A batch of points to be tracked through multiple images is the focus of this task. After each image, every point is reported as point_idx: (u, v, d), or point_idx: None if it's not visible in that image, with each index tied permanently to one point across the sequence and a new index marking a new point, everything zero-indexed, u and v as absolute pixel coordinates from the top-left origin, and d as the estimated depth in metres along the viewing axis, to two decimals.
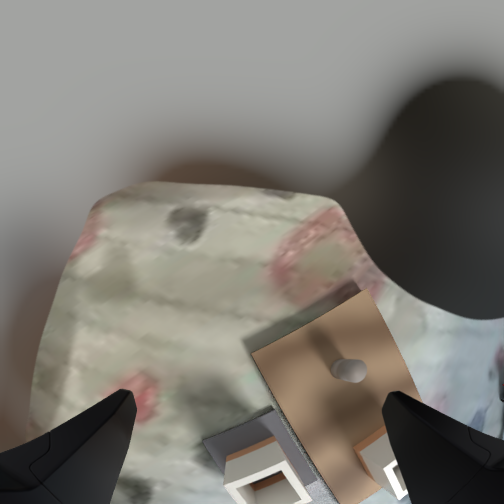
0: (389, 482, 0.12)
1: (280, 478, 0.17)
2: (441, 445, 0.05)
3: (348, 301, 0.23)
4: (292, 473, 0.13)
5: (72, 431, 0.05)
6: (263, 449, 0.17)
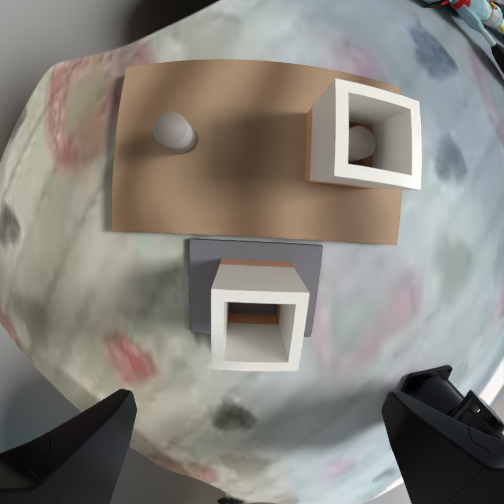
0: (373, 181, 0.11)
1: None
2: (441, 445, 0.05)
3: (122, 95, 0.15)
4: (239, 292, 0.13)
5: (72, 431, 0.05)
6: None
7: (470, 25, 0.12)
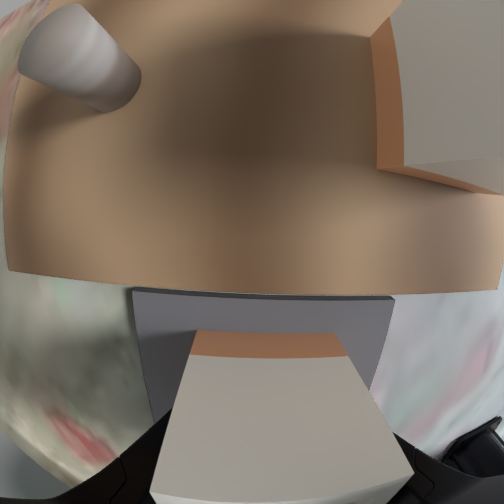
0: None
1: None
2: None
3: None
4: (231, 503, 0.03)
5: (146, 453, 0.05)
6: None
7: None
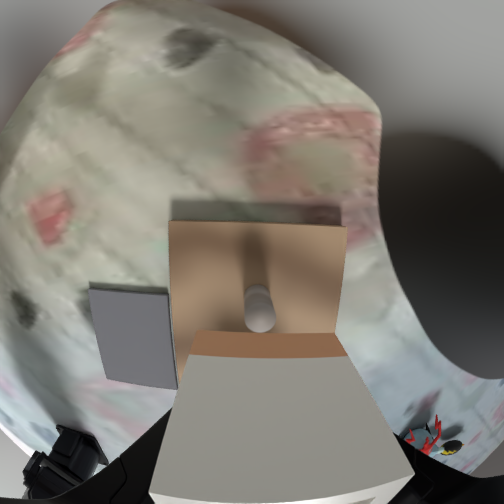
0: None
1: None
2: None
3: (315, 227, 0.18)
4: None
5: (146, 453, 0.05)
6: None
7: None
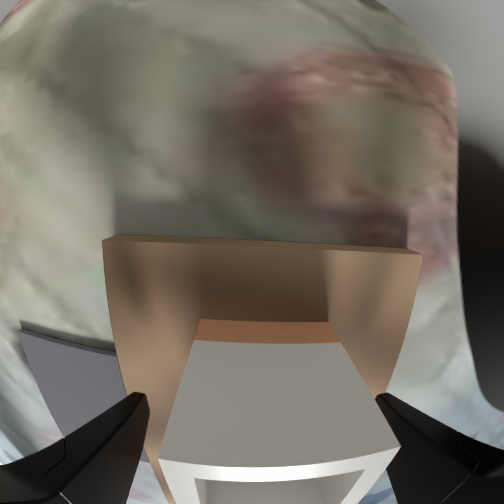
0: None
1: None
2: (429, 450, 0.05)
3: (373, 256, 0.09)
4: (232, 468, 0.04)
5: (87, 437, 0.05)
6: None
7: None
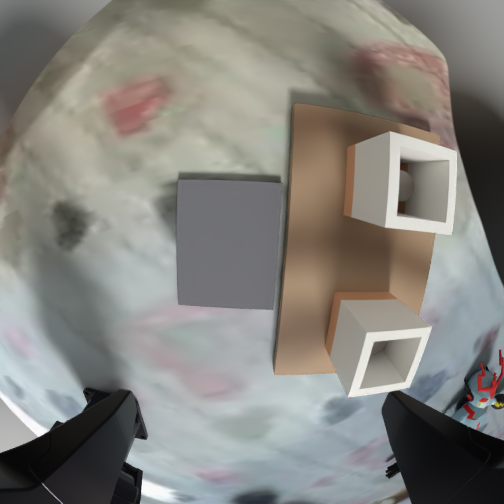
0: (357, 361, 0.13)
1: None
2: (441, 445, 0.05)
3: (418, 130, 0.16)
4: (411, 138, 0.11)
5: (72, 431, 0.05)
6: (358, 162, 0.15)
7: None
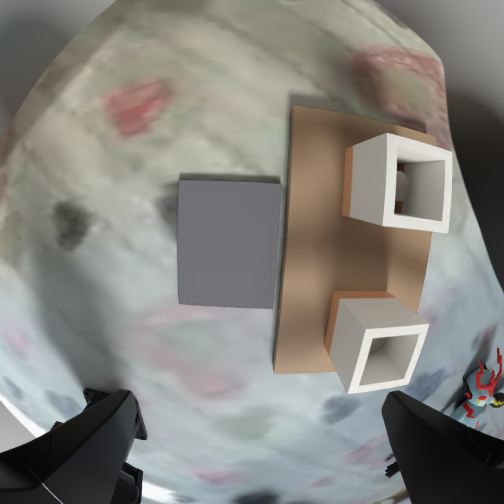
0: (356, 358, 0.14)
1: None
2: (441, 445, 0.05)
3: (414, 131, 0.17)
4: (408, 140, 0.11)
5: (72, 431, 0.05)
6: (356, 163, 0.15)
7: None
